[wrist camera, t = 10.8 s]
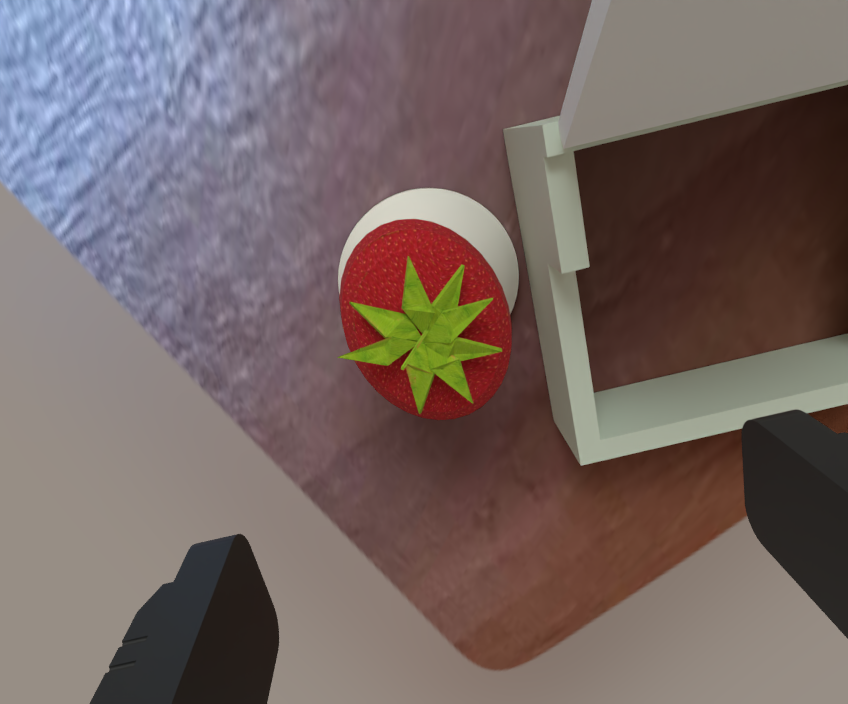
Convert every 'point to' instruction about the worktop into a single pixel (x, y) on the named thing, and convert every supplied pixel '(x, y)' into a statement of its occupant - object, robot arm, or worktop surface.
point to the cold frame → (643, 113)
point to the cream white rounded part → (454, 215)
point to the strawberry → (425, 319)
